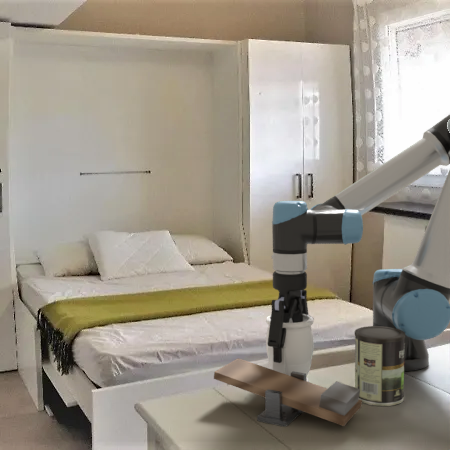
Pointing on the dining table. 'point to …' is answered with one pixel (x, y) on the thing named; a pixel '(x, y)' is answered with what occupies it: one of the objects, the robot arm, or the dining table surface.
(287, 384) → the beam
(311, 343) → the jar
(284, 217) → the robot arm
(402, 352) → the coffee can
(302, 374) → the pivot stand
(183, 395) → the dining table surface
